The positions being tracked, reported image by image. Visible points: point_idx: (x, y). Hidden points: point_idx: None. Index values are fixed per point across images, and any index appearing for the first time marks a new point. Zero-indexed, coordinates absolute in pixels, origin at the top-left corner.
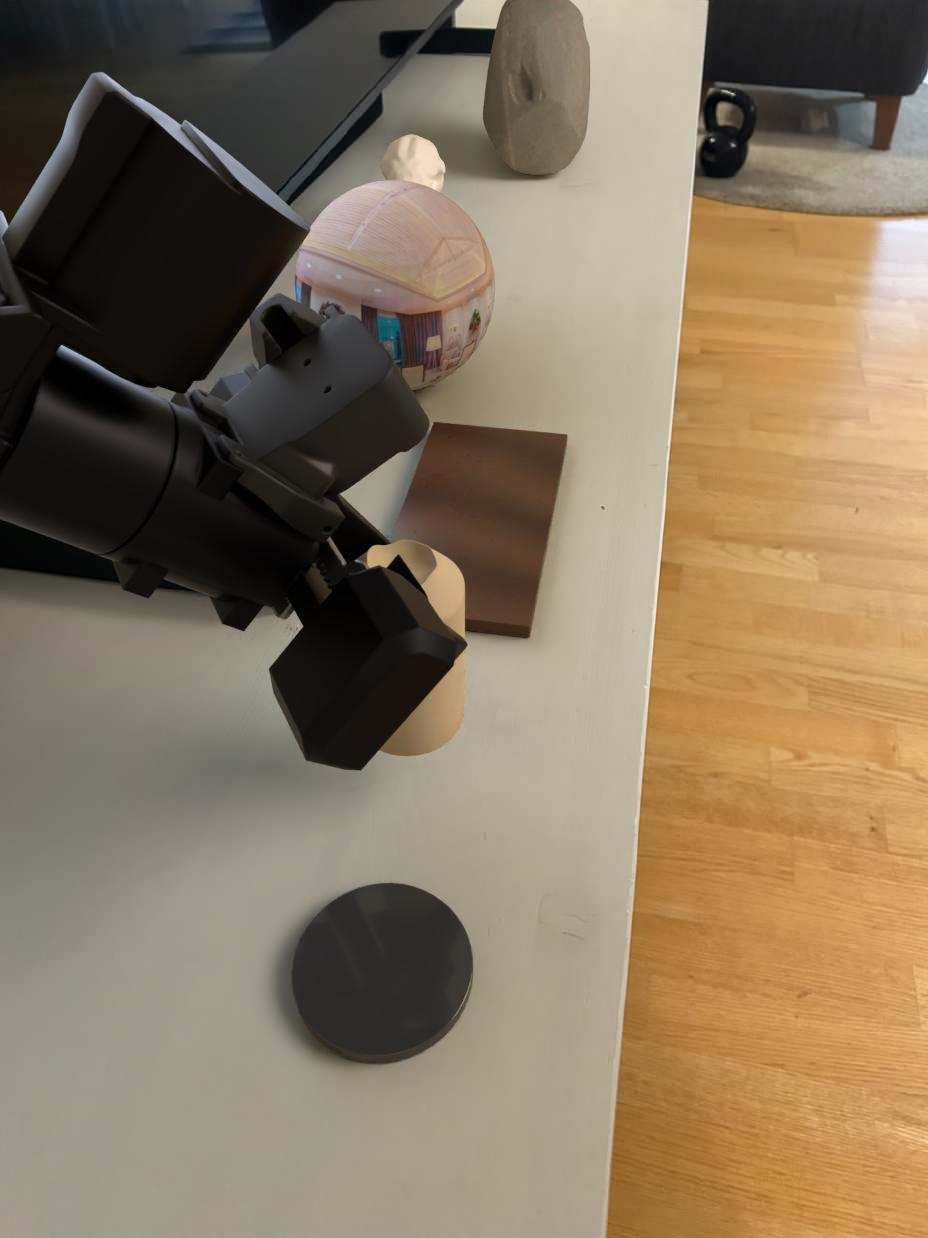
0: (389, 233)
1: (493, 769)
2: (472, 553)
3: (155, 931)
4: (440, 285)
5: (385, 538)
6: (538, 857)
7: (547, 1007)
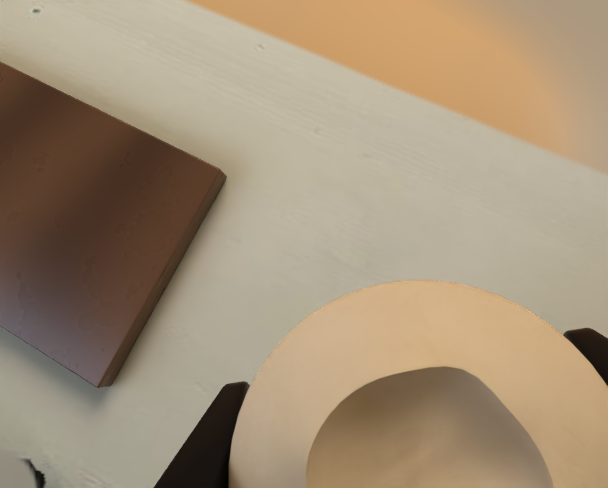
0: None
1: None
2: (55, 204)
3: None
4: None
5: (190, 461)
6: (585, 279)
7: None
